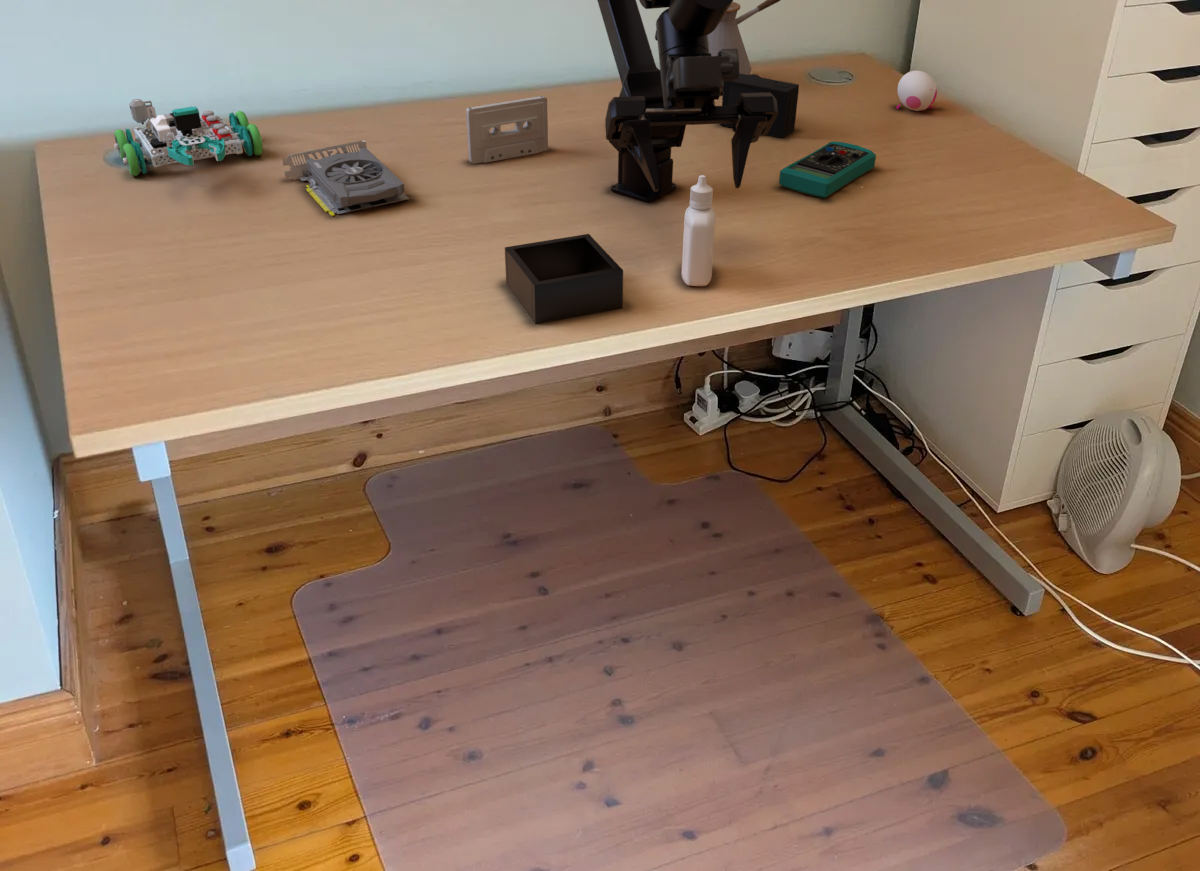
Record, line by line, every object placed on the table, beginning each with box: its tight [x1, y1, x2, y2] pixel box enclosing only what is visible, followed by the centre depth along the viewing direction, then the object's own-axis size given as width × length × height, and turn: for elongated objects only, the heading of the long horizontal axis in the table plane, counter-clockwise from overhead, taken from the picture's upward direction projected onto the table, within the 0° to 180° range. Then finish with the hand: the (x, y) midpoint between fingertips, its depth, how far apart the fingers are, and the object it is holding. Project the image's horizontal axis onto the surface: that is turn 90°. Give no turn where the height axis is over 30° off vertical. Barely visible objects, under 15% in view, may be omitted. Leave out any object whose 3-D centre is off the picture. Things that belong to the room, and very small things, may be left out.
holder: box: [504, 233, 624, 325], centre depth 124 cm, size 10×10×4 cm
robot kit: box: [113, 98, 264, 177], centre depth 153 cm, size 19×25×9 cm
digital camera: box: [720, 73, 800, 139], centre depth 169 cm, size 10×5×7 cm, turn 58°
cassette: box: [465, 95, 549, 165], centre depth 158 cm, size 12×2×8 cm, turn 119°
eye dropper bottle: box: [681, 174, 716, 287], centre depth 126 cm, size 4×6×12 cm
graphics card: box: [281, 139, 410, 217], centre depth 148 cm, size 17×4×12 cm
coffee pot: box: [708, 0, 781, 94], centre depth 185 cm, size 21×12×15 cm, turn 115°
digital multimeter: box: [778, 140, 877, 199], centre depth 154 cm, size 7×15×3 cm, turn 142°
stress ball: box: [896, 70, 938, 112], centre depth 178 cm, size 8×8×7 cm
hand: (697, 188), depth 126 cm, fingers open, 9 cm apart
